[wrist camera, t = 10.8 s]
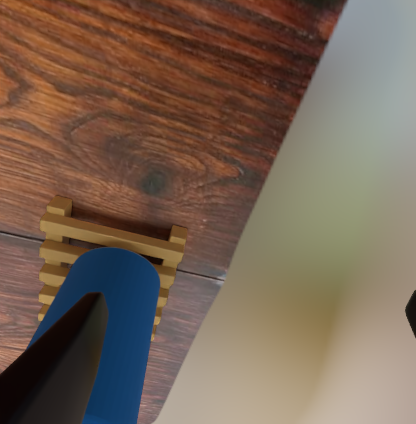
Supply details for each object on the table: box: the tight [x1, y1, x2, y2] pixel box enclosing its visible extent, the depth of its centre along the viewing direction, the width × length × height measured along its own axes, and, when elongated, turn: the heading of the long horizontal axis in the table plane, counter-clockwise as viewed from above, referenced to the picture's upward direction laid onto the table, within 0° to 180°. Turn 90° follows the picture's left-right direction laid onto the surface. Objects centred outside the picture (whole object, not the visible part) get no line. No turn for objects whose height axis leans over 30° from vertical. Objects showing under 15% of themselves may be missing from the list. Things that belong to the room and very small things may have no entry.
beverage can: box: [25, 247, 160, 424], centre depth 17 cm, size 6×6×12 cm
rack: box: [38, 196, 187, 341], centre depth 27 cm, size 24×10×2 cm, turn 162°
